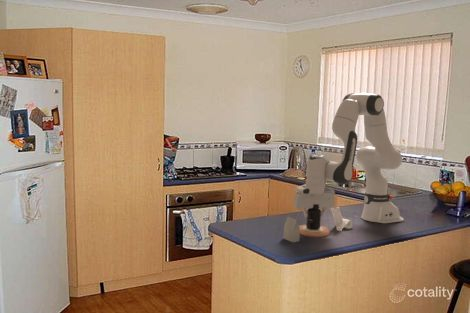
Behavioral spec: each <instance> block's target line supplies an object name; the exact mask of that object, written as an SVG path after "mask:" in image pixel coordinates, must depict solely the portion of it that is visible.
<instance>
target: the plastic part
mask: <svg viewBox="0 0 470 313" xmlns="http://www.w3.org/2000/svg"><path fill="white" fill-rule="evenodd" d="M330 211H331V214H332V218H333V221H334V225H335V226H336V231H339V232H343V229H344V228H345V229H348V230H350V229H351V228H352V227H353V220H351V219H346V218H343V214H342V213H341V209H340V206H334V207H331V208H330Z"/></svg>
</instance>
